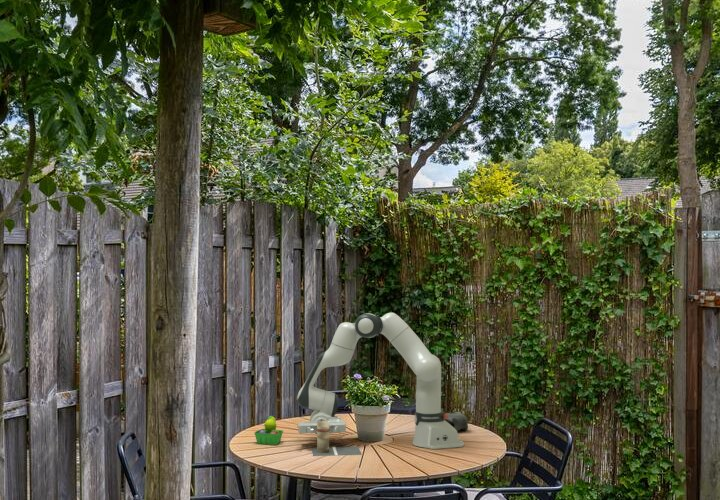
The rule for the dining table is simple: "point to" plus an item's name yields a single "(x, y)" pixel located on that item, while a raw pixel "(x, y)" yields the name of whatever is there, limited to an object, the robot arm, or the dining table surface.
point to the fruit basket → (269, 433)
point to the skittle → (323, 436)
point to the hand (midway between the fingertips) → (323, 431)
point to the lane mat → (338, 451)
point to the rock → (457, 420)
